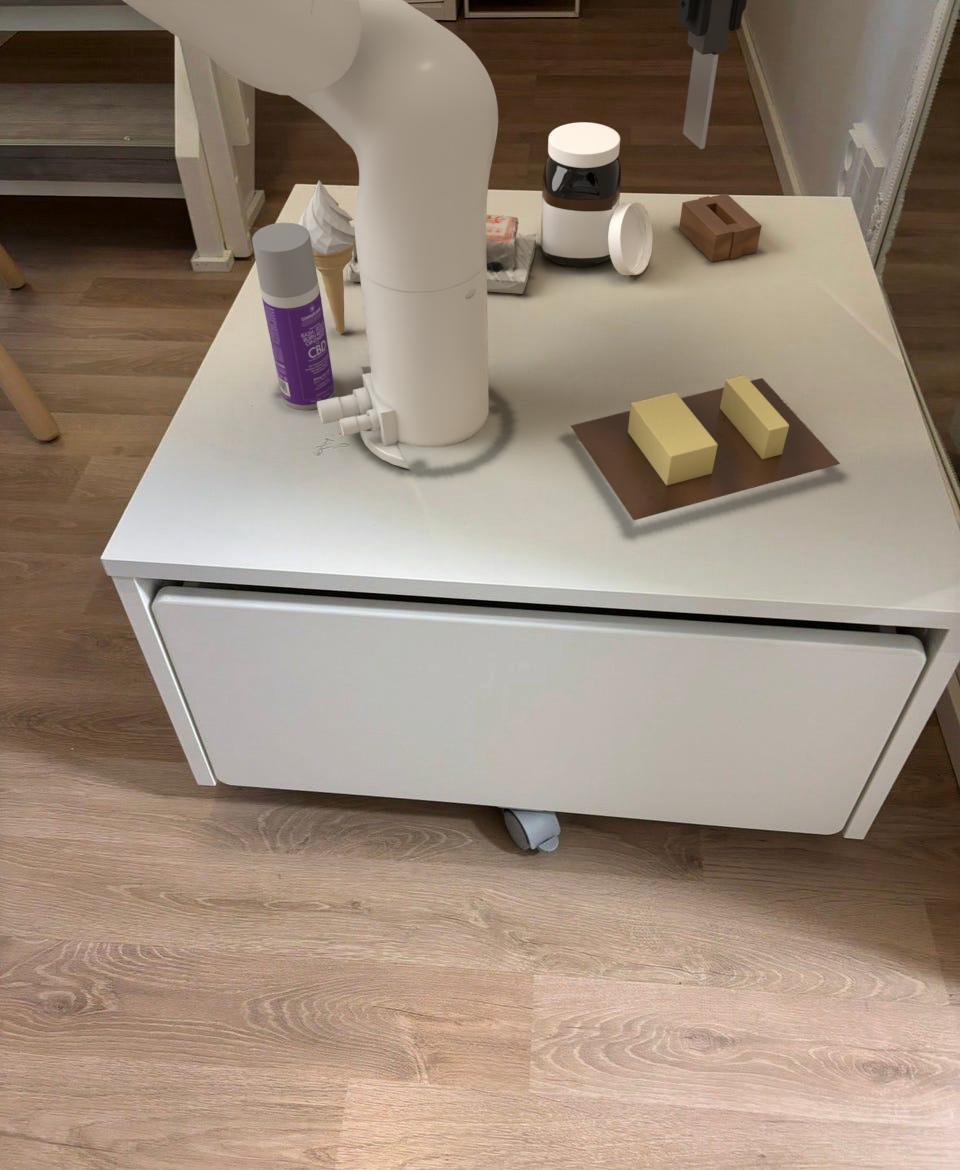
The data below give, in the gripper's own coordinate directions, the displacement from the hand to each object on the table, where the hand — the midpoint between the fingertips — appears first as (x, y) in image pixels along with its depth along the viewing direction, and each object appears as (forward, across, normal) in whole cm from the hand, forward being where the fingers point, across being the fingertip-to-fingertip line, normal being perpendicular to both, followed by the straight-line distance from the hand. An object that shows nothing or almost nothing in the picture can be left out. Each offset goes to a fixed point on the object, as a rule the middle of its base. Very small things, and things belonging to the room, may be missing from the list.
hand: (709, 24), depth 75 cm
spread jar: (+27, 0, +16) cm, 32 cm away
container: (+27, -33, +4) cm, 43 cm away
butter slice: (+26, -1, -16) cm, 30 cm away
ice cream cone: (+27, -28, +12) cm, 41 cm away
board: (+27, -5, -16) cm, 32 cm away
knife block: (+27, +13, +14) cm, 33 cm away
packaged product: (+27, -15, +20) cm, 37 cm away
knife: (+9, 0, 0) cm, 9 cm away
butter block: (+26, -8, -16) cm, 31 cm away
